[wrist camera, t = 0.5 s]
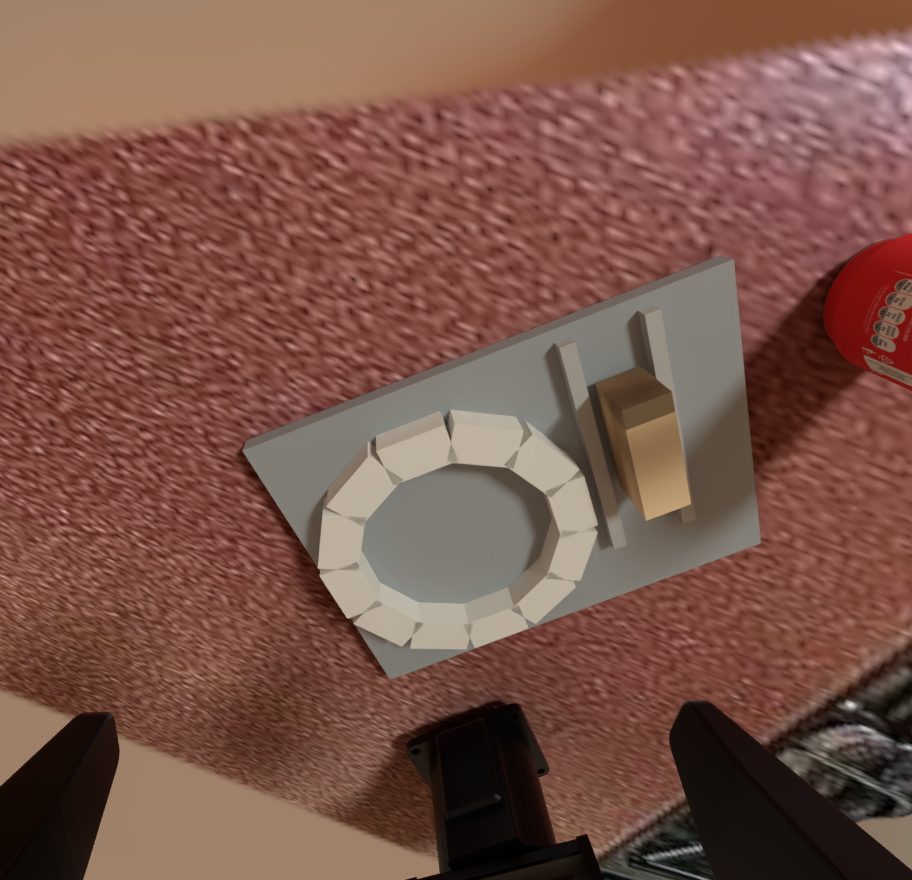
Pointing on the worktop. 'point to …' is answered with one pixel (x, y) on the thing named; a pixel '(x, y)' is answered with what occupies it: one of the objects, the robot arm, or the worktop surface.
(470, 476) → the dock board
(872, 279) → the beverage can
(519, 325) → the worktop surface
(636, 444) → the bar
